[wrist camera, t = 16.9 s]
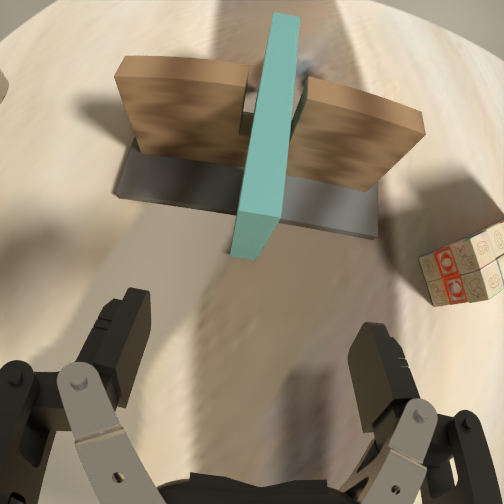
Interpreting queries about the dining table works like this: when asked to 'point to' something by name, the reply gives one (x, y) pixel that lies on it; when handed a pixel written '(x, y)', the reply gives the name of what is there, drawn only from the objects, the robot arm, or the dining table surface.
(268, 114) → the teal plate
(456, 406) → the dining table surface
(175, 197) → the halving stand
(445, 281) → the stack of blocks
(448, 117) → the dining table surface
